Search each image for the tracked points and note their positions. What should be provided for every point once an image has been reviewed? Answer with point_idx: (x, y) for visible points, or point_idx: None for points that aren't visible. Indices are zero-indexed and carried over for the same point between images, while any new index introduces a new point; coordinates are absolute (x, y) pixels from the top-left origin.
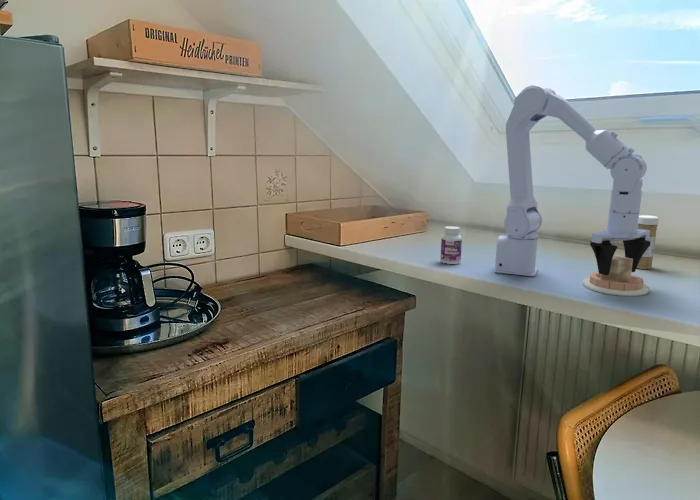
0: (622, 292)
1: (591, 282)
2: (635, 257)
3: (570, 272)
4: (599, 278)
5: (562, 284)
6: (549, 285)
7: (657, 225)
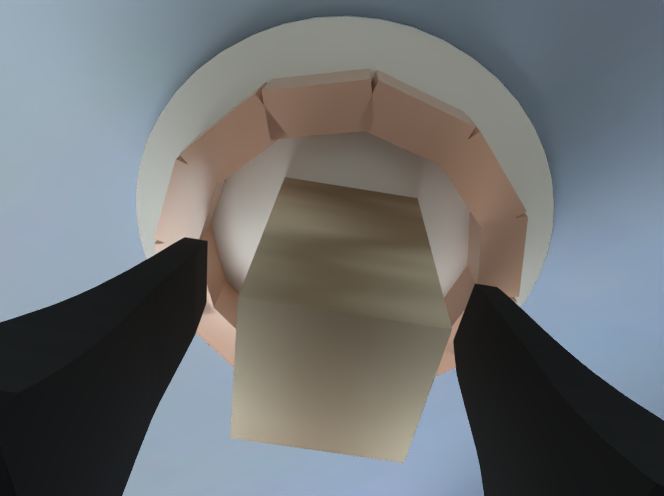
0: (512, 95)
1: None
2: (145, 321)
3: (288, 476)
4: None
5: None
6: None
7: None
